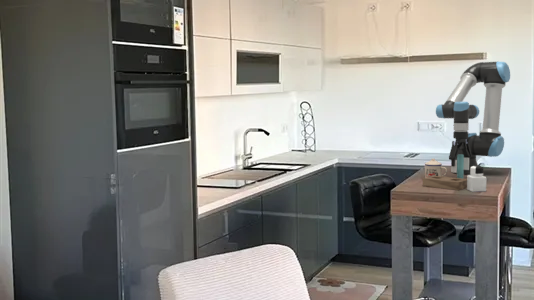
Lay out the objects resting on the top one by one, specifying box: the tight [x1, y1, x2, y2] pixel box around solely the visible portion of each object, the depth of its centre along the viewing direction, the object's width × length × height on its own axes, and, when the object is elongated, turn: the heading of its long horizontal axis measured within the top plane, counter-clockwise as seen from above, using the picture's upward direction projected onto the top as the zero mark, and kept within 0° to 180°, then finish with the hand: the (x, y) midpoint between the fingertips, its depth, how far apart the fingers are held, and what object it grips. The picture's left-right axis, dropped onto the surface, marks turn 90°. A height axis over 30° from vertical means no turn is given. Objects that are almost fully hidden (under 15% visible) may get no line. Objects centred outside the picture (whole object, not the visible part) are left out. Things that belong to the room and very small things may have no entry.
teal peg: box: [456, 154, 464, 179], centre depth 330 cm, size 3×3×15 cm
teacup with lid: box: [424, 158, 448, 178], centre depth 341 cm, size 12×9×12 cm
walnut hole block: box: [422, 176, 467, 191], centre depth 320 cm, size 12×20×4 cm, turn 45°
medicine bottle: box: [466, 165, 487, 193], centre depth 307 cm, size 7×7×12 cm
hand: (460, 171), depth 330 cm, fingers open, 13 cm apart
